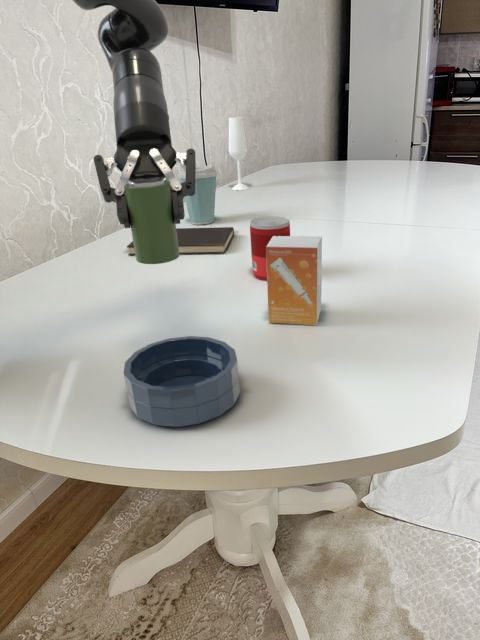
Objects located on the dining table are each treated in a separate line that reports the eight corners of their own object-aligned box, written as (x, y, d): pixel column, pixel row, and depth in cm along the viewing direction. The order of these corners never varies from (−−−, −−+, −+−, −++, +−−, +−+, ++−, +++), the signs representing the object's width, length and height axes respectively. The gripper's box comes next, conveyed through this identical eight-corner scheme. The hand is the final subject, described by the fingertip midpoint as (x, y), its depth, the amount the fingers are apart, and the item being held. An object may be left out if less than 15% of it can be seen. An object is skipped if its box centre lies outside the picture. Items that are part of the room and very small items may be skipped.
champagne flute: (240, 190, 188) (235, 118, 177) (227, 189, 193) (222, 118, 182) (253, 187, 193) (249, 116, 182) (240, 186, 197) (235, 116, 186)
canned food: (279, 283, 102) (277, 227, 97) (245, 277, 106) (241, 223, 101) (298, 271, 108) (297, 218, 103) (264, 266, 111) (262, 214, 106)
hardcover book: (224, 253, 121) (224, 244, 120) (128, 255, 123) (126, 246, 122) (234, 235, 135) (233, 226, 134) (147, 237, 137) (146, 228, 136)
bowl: (128, 437, 60) (119, 397, 57) (134, 378, 72) (127, 342, 69) (246, 421, 61) (243, 381, 59) (232, 366, 73) (229, 331, 71)
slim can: (135, 266, 70) (121, 185, 65) (137, 253, 75) (124, 177, 71) (180, 261, 71) (170, 181, 66) (178, 249, 76) (169, 174, 71)
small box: (268, 324, 85) (264, 246, 79) (275, 308, 91) (272, 234, 85) (317, 326, 84) (318, 246, 78) (322, 310, 89) (322, 235, 83)
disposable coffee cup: (181, 227, 144) (175, 171, 138) (185, 218, 154) (179, 165, 147) (220, 225, 145) (215, 169, 138) (221, 216, 154) (217, 163, 147)
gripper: (83, 102, 70) (90, 211, 65) (191, 96, 72) (206, 202, 67) (95, 141, 77) (102, 242, 72) (193, 134, 79) (207, 232, 74)
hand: (152, 222), depth 69 cm, fingers closed on slim can, 6 cm apart
